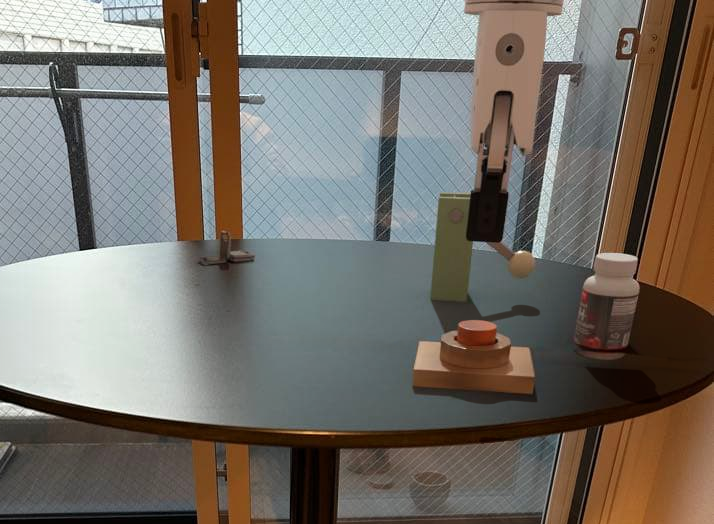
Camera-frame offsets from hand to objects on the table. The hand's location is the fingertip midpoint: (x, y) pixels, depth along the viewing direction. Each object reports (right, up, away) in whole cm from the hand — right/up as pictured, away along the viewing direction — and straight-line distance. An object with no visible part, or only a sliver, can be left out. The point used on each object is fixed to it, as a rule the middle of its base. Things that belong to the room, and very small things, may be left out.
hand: (483, 239), depth 72 cm
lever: (+5, +8, +25) cm, 27 cm away
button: (0, -8, +5) cm, 9 cm away
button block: (0, -11, +6) cm, 13 cm away
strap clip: (-28, +16, +51) cm, 60 cm away
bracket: (+2, +3, +29) cm, 29 cm away
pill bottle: (+15, -7, +13) cm, 21 cm away
